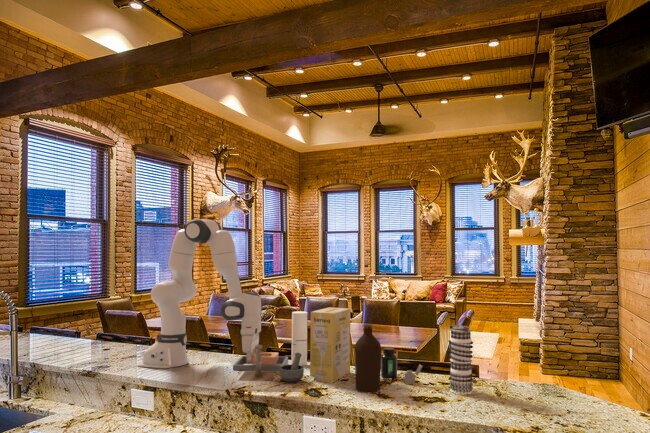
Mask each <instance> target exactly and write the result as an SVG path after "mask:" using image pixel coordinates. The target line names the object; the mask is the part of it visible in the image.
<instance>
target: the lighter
mask: <svg viewBox="0 0 650 433" xmlns="http://www.w3.org/2000/svg"><path fill="white" fill-rule="evenodd" d="M422 368H423V365H421V364H420V363H419V365H418V366H417V368H416V370H415V372H413V370H406V372H404V384H405V383H408V384H407V385H410V384H415V385H416V376H419V374H420V372H421V370H422Z"/></svg>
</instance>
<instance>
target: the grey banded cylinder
mask: <svg viewBox="0 0 650 433" xmlns="http://www.w3.org/2000/svg"><path fill="white" fill-rule="evenodd" d="M449 331H450V337H449V338H450V339H449V340H448V352H449V356H448V357H449V361H450V372H449V375H450V376H449V379H450V381H449V389H450V390H449V392H450V391H451V392H450V393H452V392H454V393H458V394H470V395H472V394H473V393H472V391H473V390H474V389H473V388H474V387H473V384H474V383H473V382H472V381H473V374H472V371H473V370H472V363H473V360H472V359H471V358H473V357H474V356H473V355H472V354H473V350H471V349H473V348H474V346H473V344H474V342H473V341H472V338H471V337H472V336H471V335H472V334H471V332H472V329H470V328H469V326H467V325H462V324H456V325H452V327H451V328H449ZM454 393H453V394H454ZM471 393H472V394H471ZM458 394H457V395H458Z"/></svg>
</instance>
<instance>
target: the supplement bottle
mask: <svg viewBox="0 0 650 433" xmlns="http://www.w3.org/2000/svg"><path fill="white" fill-rule="evenodd" d="M395 351H396V350H395V348H394V347H383V351H382V354H381V371H380V378H382V377H383V379H385V378H395V379H397V378H398V357H397V355H396V354H395Z"/></svg>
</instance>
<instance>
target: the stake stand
mask: <svg viewBox="0 0 650 433" xmlns="http://www.w3.org/2000/svg"><path fill="white" fill-rule="evenodd" d="M262 350H263V344H258V345H255V354H256V364H254V365H255V370H244V371H243V373H242V375H241V376H240V377H238V378H239V379H237V381H243V382H244V381H245V382H247V381H248V382H273V381H274V379H275V377H276V375H277V373H278V371H261V365H262V364H261V352H263V351H262Z"/></svg>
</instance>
